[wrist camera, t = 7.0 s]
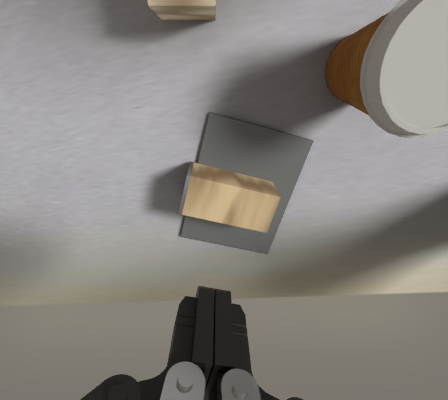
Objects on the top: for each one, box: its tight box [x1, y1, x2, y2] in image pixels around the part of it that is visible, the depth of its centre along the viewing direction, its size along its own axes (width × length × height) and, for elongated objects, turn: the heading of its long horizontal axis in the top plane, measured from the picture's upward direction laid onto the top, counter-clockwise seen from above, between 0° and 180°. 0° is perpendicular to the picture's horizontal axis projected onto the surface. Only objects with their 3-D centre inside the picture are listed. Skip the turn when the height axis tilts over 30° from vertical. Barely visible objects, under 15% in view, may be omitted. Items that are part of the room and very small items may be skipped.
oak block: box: [178, 162, 281, 233], centre depth 30 cm, size 4×4×10 cm
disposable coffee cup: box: [326, 0, 448, 138], centre depth 22 cm, size 10×10×12 cm
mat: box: [181, 112, 313, 254], centre depth 33 cm, size 12×16×1 cm
